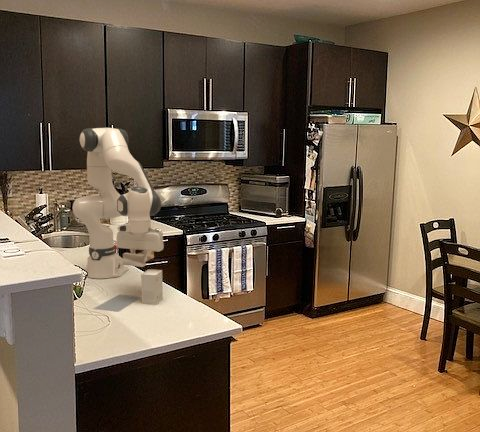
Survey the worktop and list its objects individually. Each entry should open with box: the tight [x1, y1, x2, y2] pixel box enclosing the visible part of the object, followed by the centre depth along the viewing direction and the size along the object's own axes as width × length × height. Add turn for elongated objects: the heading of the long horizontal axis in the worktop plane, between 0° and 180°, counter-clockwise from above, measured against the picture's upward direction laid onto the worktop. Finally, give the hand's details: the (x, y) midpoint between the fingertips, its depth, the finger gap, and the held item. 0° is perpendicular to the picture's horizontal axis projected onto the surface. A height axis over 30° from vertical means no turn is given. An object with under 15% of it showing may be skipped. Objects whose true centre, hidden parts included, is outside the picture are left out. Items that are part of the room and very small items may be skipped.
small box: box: [140, 268, 164, 306], centre depth 213 cm, size 8×6×13 cm
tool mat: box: [93, 293, 142, 313], centre depth 212 cm, size 20×11×1 cm, turn 163°
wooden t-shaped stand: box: [122, 250, 155, 268], centre depth 217 cm, size 16×9×4 cm, turn 162°
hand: (140, 260), depth 216 cm, fingers closed on wooden t-shaped stand, 3 cm apart
